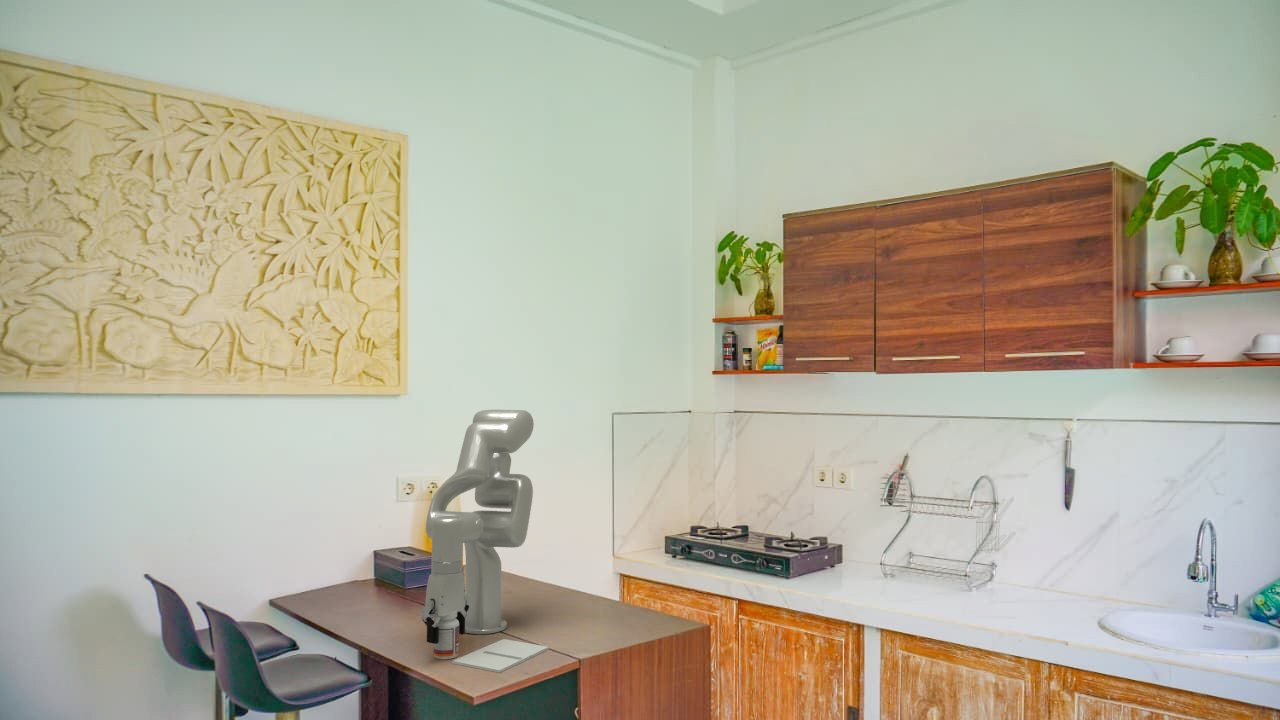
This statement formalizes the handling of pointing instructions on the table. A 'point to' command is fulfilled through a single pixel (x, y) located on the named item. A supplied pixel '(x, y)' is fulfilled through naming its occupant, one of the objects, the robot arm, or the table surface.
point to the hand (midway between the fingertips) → (446, 638)
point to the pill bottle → (447, 637)
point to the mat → (500, 655)
